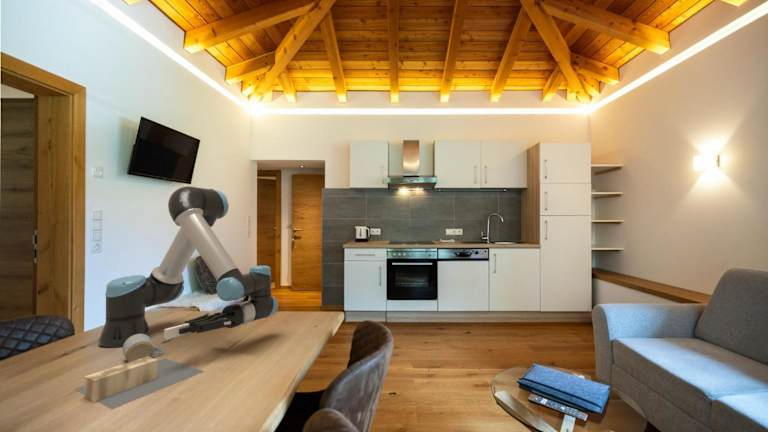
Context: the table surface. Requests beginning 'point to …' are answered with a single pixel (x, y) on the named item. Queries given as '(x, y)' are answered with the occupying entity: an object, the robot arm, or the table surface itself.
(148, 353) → the ceramic mug
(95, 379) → the beech block
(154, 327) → the table surface
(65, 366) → the table surface
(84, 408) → the table surface
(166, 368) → the felt mat
